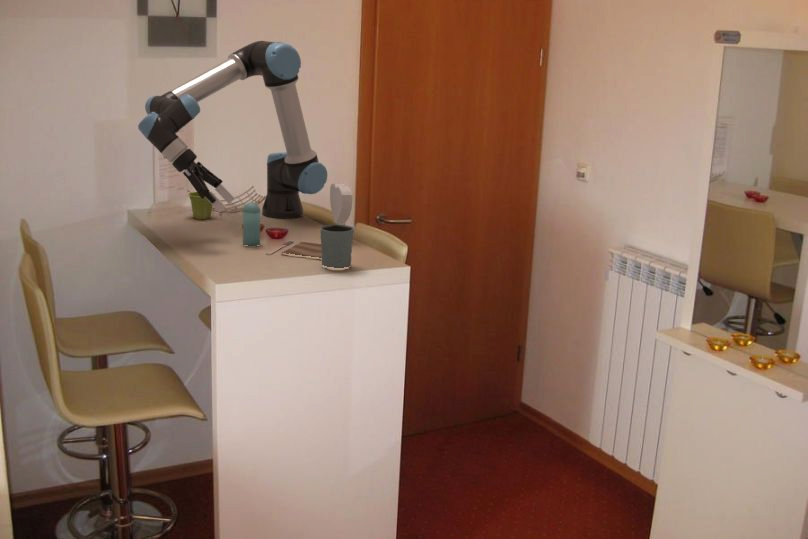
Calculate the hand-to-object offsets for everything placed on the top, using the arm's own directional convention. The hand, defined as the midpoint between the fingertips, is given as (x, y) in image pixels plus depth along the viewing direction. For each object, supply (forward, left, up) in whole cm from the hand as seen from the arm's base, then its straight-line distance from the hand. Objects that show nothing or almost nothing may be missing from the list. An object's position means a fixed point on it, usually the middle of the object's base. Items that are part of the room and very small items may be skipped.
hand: (227, 205), depth 295 cm
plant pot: (-31, -26, -13) cm, 42 cm away
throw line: (-3, +17, -13) cm, 21 cm away
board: (-3, +28, -13) cm, 31 cm away
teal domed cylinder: (-3, +7, -13) cm, 15 cm away
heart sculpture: (-25, +29, -13) cm, 40 cm away
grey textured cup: (+10, +41, -13) cm, 44 cm away
